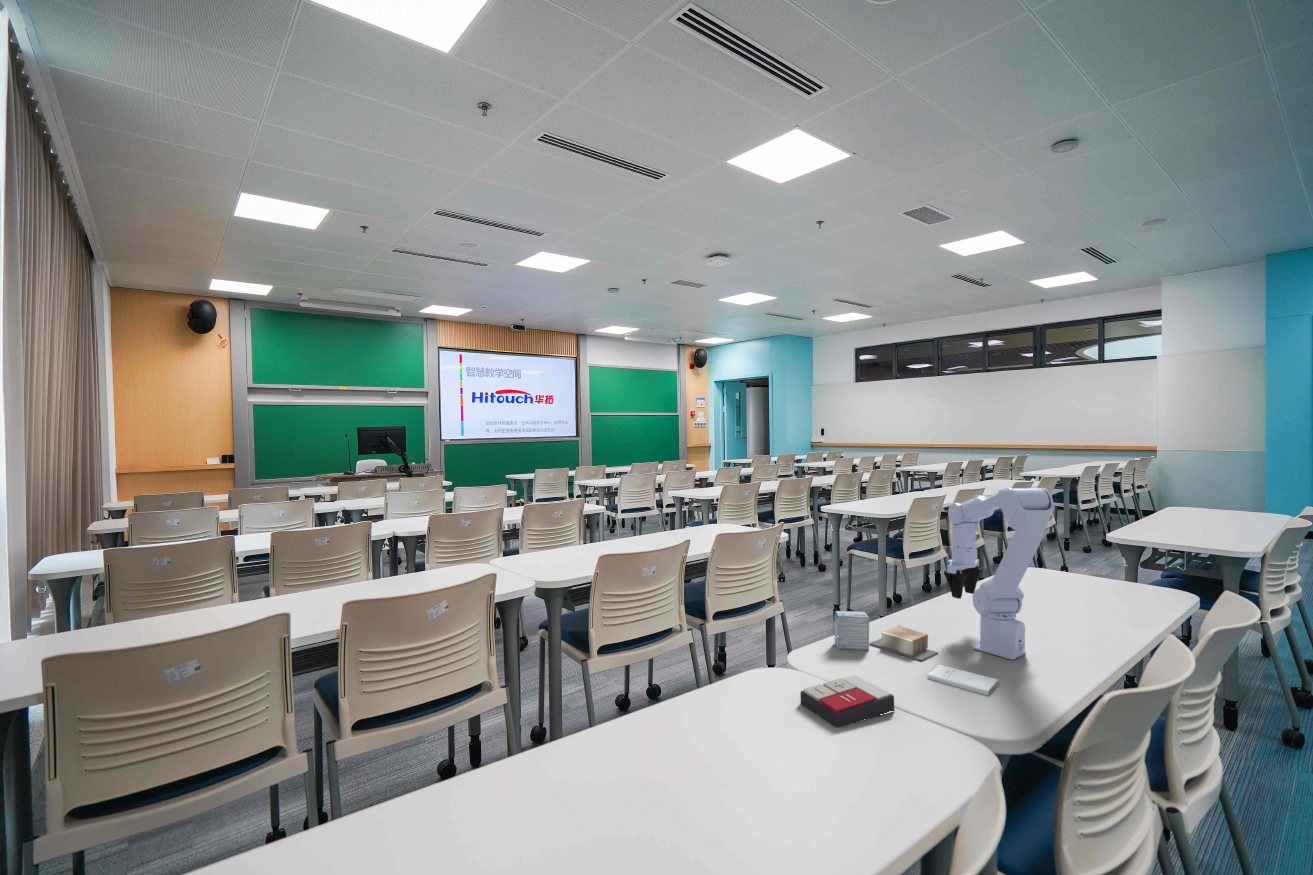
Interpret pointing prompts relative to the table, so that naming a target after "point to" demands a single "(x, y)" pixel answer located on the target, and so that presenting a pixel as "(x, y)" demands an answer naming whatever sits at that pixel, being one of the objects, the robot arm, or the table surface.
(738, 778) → the table surface
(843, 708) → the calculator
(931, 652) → the mat
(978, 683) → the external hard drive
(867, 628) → the medicine box
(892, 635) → the block
